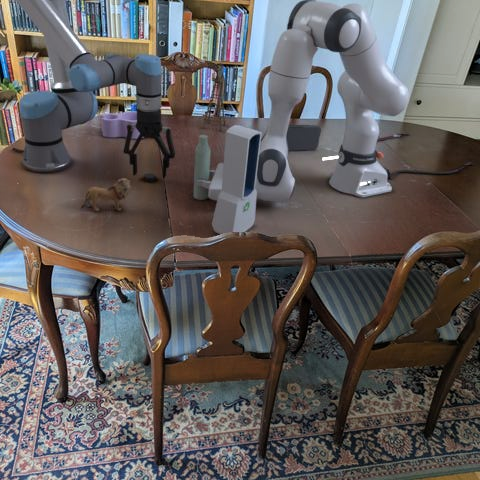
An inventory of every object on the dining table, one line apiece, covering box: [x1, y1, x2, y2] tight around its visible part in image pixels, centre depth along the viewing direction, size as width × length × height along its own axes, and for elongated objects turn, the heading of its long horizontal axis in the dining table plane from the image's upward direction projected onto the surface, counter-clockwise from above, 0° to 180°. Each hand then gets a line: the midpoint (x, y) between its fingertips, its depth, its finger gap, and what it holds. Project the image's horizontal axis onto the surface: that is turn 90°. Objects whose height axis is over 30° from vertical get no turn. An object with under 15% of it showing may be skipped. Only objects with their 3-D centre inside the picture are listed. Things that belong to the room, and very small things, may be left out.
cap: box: [143, 172, 157, 183], centre depth 157 cm, size 4×4×2 cm
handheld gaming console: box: [287, 124, 322, 152], centre depth 189 cm, size 23×3×10 cm, turn 108°
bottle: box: [192, 134, 211, 201], centre depth 145 cm, size 5×5×20 cm
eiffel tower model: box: [202, 55, 226, 132], centre depth 198 cm, size 9×8×30 cm
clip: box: [100, 110, 145, 140], centre depth 188 cm, size 20×12×7 cm, turn 109°
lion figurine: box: [80, 177, 132, 212], centre depth 136 cm, size 15×5×9 cm, turn 110°
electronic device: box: [211, 124, 263, 235], centre depth 127 cm, size 12×8×30 cm, turn 148°
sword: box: [377, 133, 409, 142], centre depth 213 cm, size 31×3×1 cm, turn 126°
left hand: (149, 174), depth 156 cm, fingers open, 9 cm apart
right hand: (198, 177), depth 147 cm, fingers closed on bottle, 4 cm apart
